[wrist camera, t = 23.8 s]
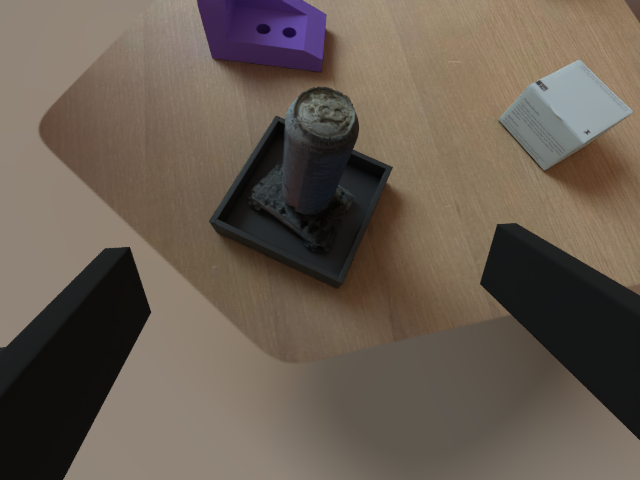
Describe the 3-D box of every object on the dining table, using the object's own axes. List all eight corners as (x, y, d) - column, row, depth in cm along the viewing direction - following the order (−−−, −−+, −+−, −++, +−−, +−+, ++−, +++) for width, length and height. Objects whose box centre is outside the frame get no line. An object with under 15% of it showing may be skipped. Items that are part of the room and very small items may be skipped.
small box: (589, 144, 35) (638, 112, 30) (542, 173, 33) (586, 144, 28) (542, 94, 36) (581, 56, 32) (495, 119, 34) (528, 83, 30)
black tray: (216, 232, 27) (208, 221, 25) (277, 132, 31) (275, 115, 29) (337, 289, 27) (342, 283, 24) (384, 180, 31) (392, 167, 28)
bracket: (212, 57, 34) (193, -10, 27) (222, 13, 36) (207, -60, 29) (321, 72, 34) (328, 9, 28) (324, 27, 36) (332, -41, 30)
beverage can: (361, 190, 29) (406, 94, 18) (327, 260, 27) (354, 200, 15) (276, 150, 30) (268, 32, 18) (235, 215, 27) (196, 126, 16)
